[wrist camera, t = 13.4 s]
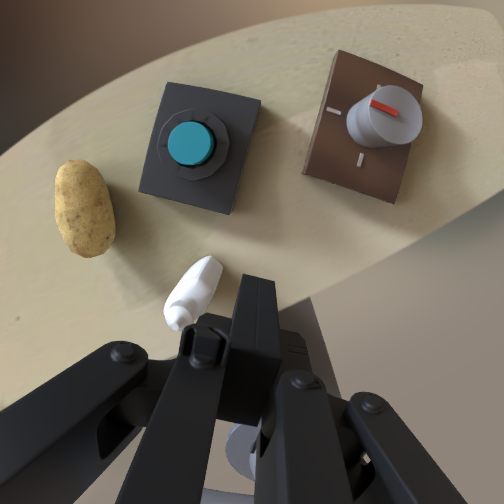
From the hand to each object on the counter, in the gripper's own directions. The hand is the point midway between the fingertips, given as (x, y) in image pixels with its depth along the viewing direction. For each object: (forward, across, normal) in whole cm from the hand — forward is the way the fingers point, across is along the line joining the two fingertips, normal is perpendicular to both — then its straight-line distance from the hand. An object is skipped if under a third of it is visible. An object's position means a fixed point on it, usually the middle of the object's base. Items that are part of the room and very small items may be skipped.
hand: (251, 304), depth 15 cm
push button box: (+20, -8, +7) cm, 23 cm away
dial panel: (+20, +8, +14) cm, 25 cm away
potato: (+20, -19, -1) cm, 28 cm away
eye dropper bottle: (+20, -5, -7) cm, 22 cm away
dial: (+17, +8, +14) cm, 23 cm away
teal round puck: (+16, -8, +7) cm, 19 cm away
